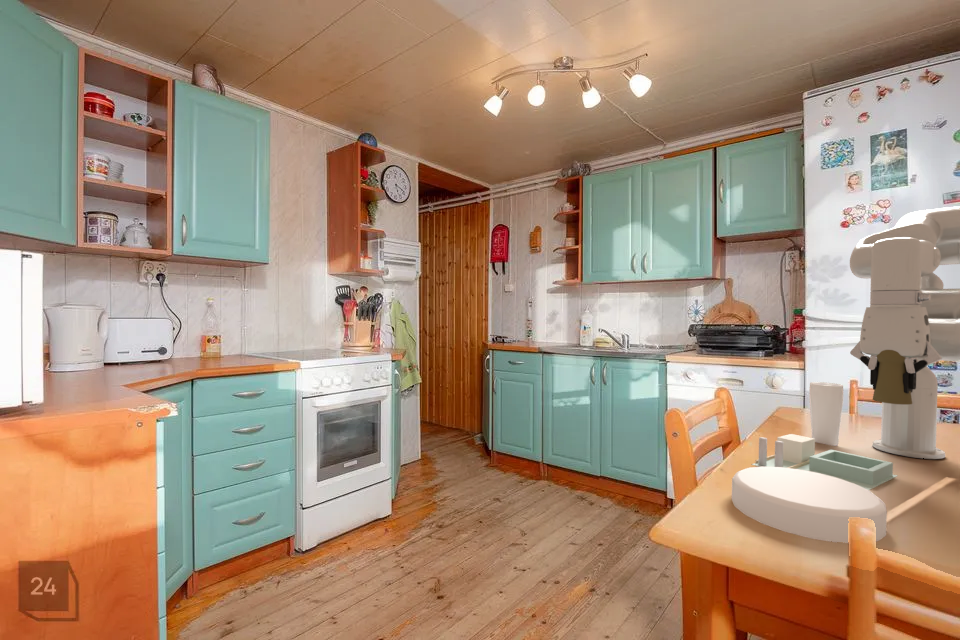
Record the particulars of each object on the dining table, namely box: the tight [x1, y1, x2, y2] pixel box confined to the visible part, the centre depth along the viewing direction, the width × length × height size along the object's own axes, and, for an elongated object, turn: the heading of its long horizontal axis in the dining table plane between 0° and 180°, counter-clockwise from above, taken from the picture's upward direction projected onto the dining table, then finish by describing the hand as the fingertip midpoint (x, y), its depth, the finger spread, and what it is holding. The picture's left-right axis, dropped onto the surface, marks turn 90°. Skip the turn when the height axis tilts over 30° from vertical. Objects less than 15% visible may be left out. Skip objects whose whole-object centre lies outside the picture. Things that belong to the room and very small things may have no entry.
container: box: [731, 466, 888, 544], centre depth 73 cm, size 20×20×5 cm
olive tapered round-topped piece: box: [872, 350, 912, 405], centre depth 93 cm, size 6×6×11 cm
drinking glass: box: [808, 381, 844, 447], centre depth 114 cm, size 7×7×15 cm
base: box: [751, 436, 898, 491], centre depth 91 cm, size 18×18×7 cm
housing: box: [776, 433, 816, 464], centre depth 98 cm, size 6×5×4 cm
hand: (892, 390), depth 93 cm, fingers closed on olive tapered round-topped piece, 4 cm apart
